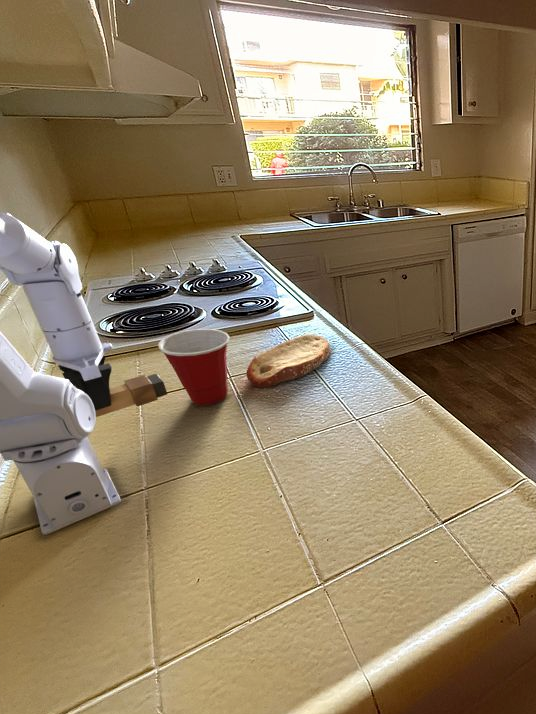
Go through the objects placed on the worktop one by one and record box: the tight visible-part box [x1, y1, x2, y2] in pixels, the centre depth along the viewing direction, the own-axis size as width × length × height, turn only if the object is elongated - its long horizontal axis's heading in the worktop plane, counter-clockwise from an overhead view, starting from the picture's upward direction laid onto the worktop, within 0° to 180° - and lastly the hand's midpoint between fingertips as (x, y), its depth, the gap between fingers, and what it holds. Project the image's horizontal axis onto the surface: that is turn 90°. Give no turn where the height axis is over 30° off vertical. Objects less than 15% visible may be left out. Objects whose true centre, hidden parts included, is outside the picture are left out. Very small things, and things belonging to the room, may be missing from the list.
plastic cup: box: [157, 328, 231, 407], centre depth 83 cm, size 11×11×12 cm
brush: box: [95, 373, 168, 418], centre depth 75 cm, size 13×4×3 cm, turn 136°
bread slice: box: [246, 334, 332, 388], centre depth 98 cm, size 18×18×4 cm
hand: (101, 403), depth 74 cm, fingers closed on brush, 2 cm apart
